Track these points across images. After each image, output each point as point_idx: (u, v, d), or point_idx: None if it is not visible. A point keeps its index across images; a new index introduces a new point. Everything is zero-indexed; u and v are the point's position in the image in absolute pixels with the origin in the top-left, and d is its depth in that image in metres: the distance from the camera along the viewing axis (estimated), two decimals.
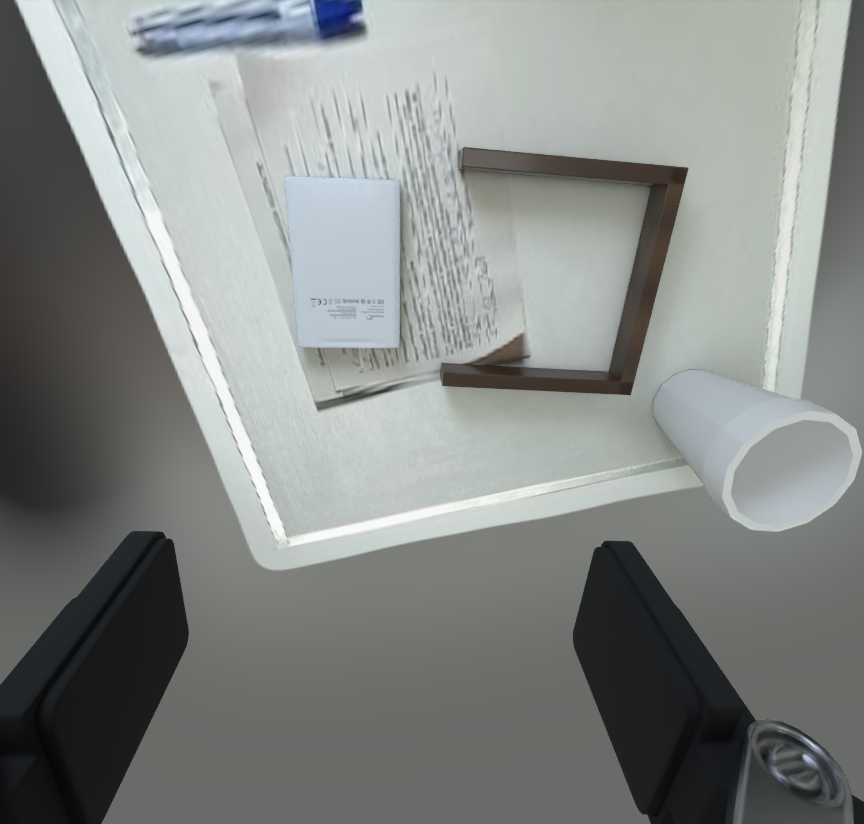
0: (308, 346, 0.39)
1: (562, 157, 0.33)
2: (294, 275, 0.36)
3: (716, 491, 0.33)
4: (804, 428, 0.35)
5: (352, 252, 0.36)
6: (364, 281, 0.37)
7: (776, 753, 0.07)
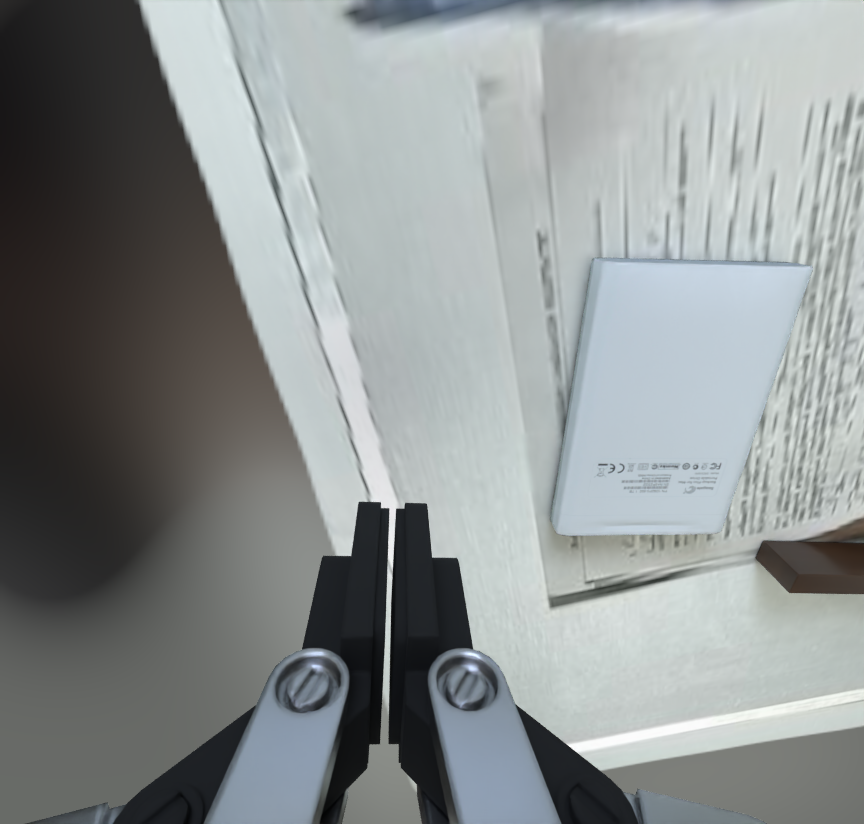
0: (575, 534, 0.23)
1: None
2: (579, 428, 0.20)
3: None
4: None
5: (692, 390, 0.20)
6: (698, 436, 0.21)
7: (452, 683, 0.07)
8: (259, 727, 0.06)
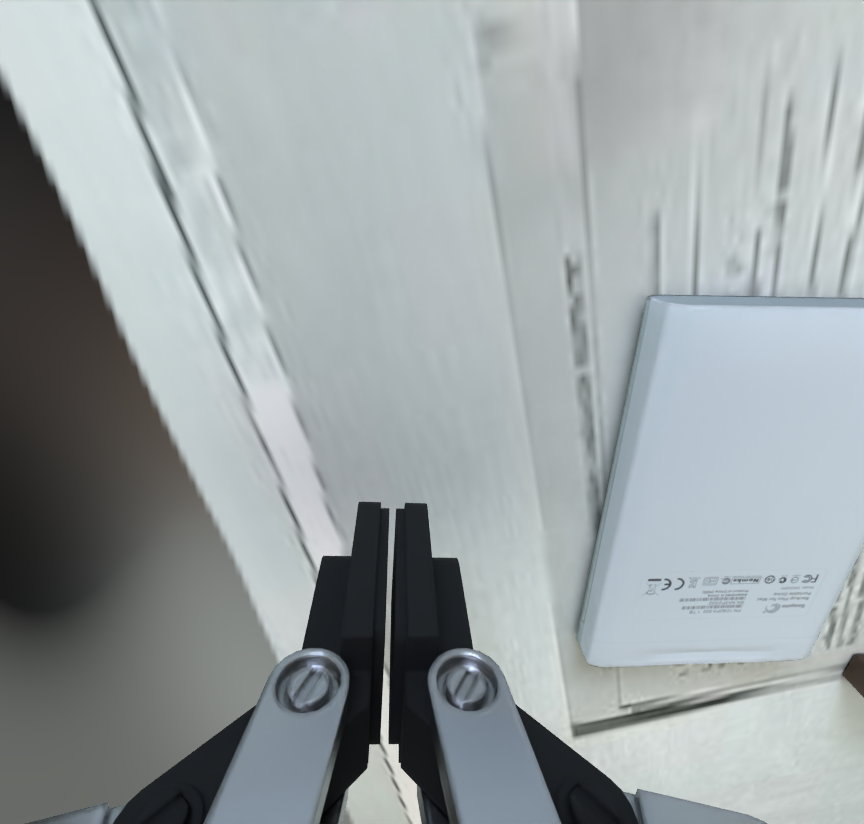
0: (612, 665, 0.16)
1: None
2: (623, 534, 0.14)
3: None
4: None
5: (787, 483, 0.14)
6: (790, 541, 0.15)
7: (452, 683, 0.07)
8: (259, 727, 0.06)
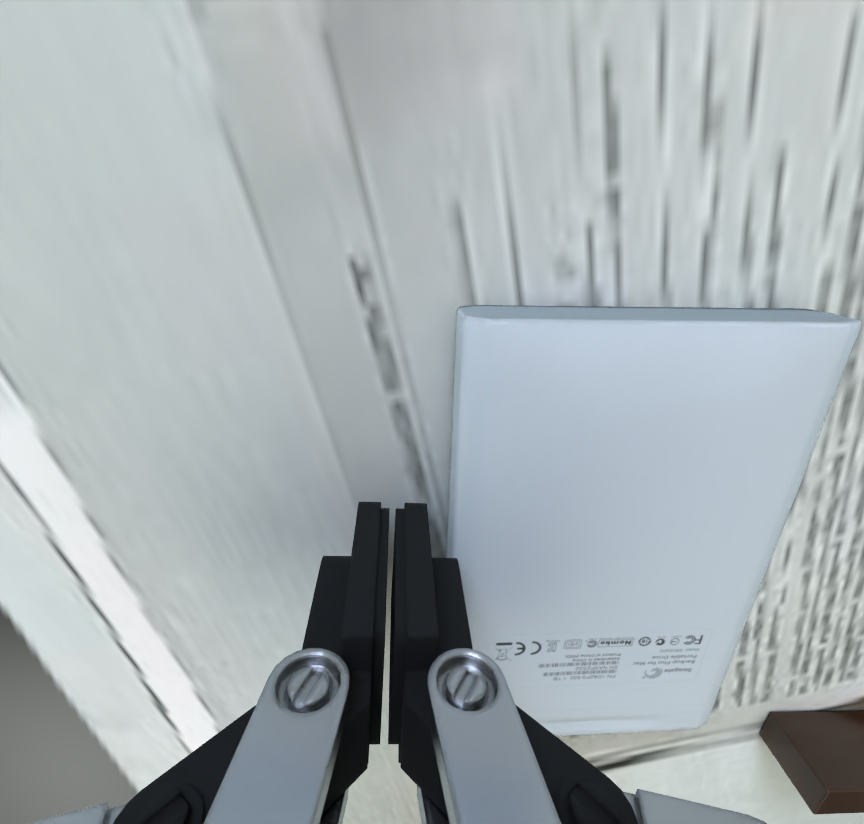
0: None
1: None
2: None
3: None
4: None
5: (648, 532, 0.11)
6: (662, 598, 0.12)
7: (452, 683, 0.07)
8: (259, 727, 0.06)
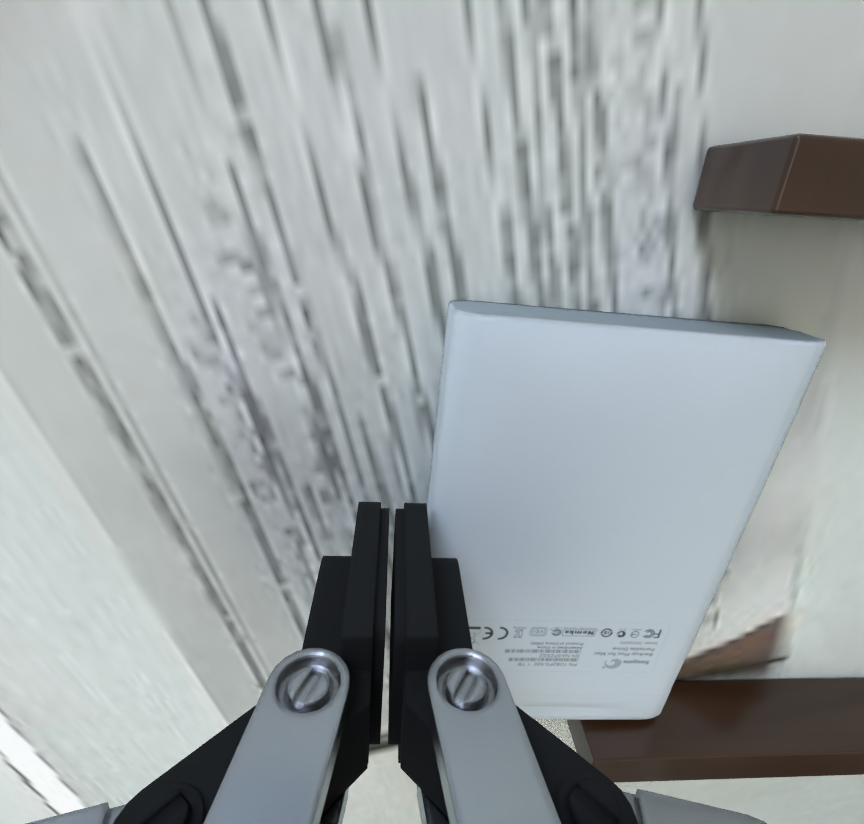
0: None
1: None
2: None
3: None
4: None
5: (616, 528, 0.12)
6: (626, 592, 0.13)
7: (452, 683, 0.07)
8: (259, 727, 0.06)
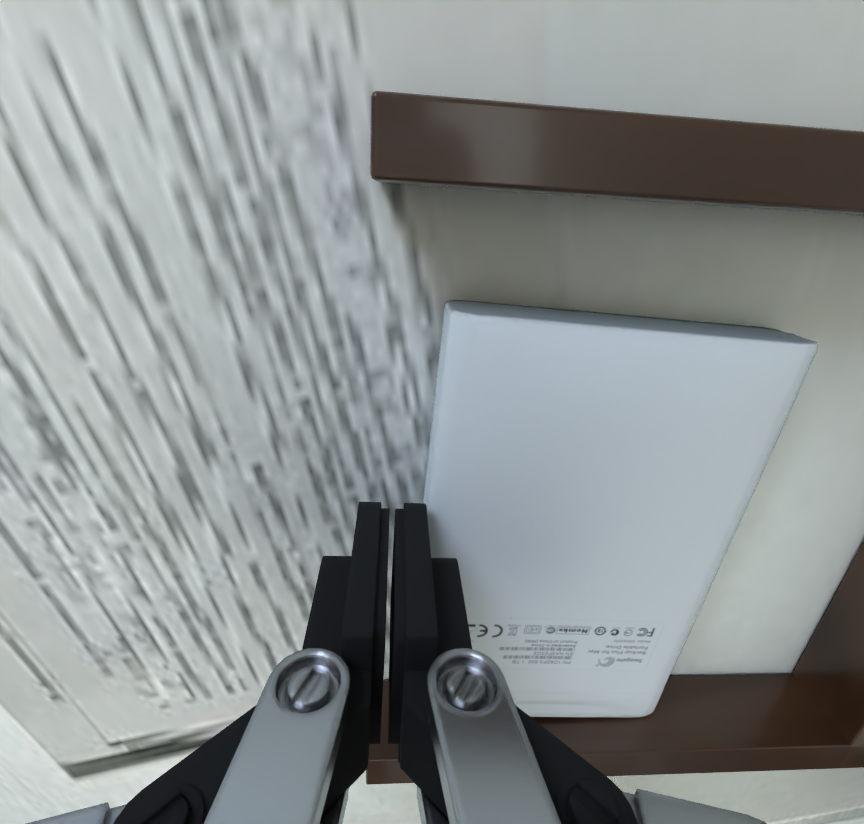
0: None
1: (809, 132, 0.08)
2: None
3: None
4: None
5: (610, 527, 0.12)
6: (619, 591, 0.13)
7: (452, 683, 0.07)
8: (259, 727, 0.06)
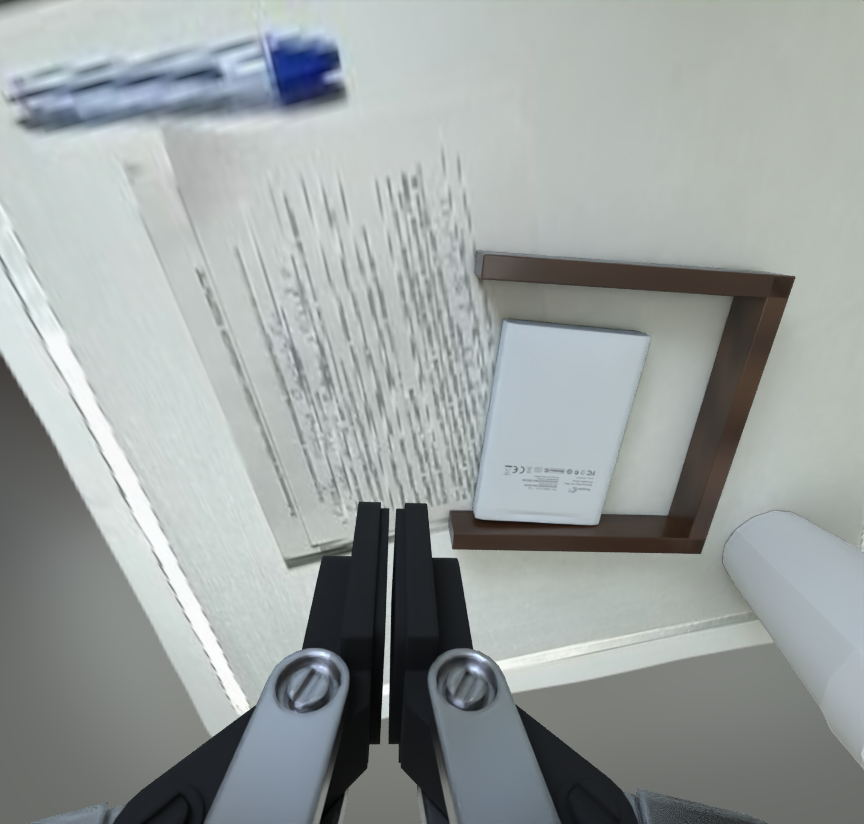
0: (488, 518, 0.30)
1: (622, 265, 0.24)
2: (491, 438, 0.28)
3: (849, 741, 0.23)
4: None
5: (571, 416, 0.28)
6: (577, 449, 0.29)
7: (452, 683, 0.07)
8: (259, 727, 0.06)
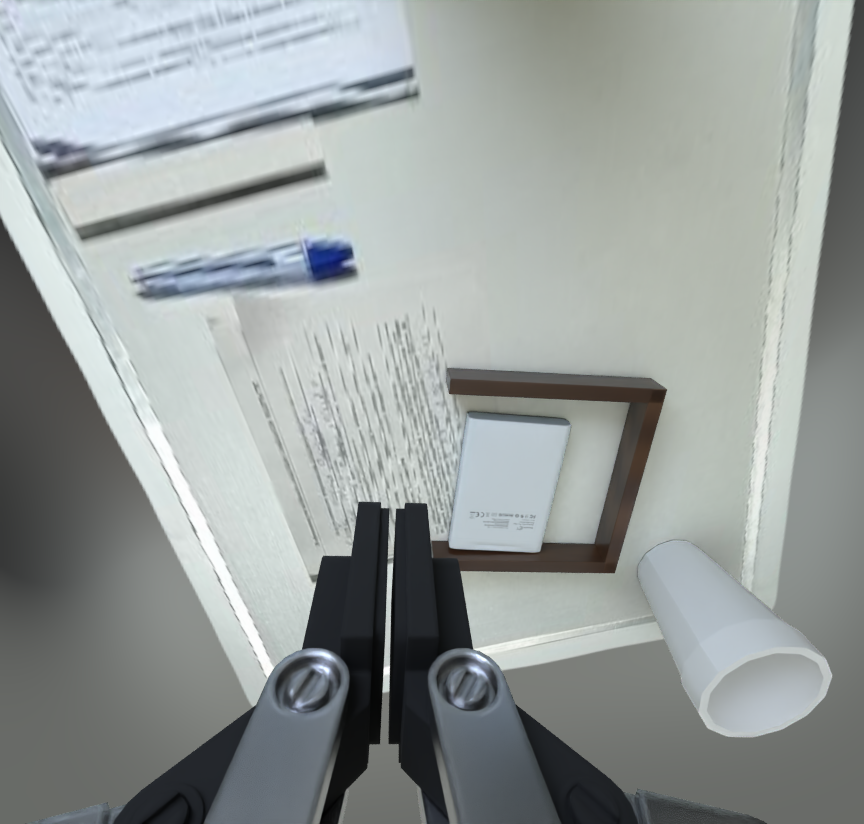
0: (459, 548, 0.42)
1: (545, 384, 0.35)
2: (459, 493, 0.39)
3: None
4: None
5: (516, 478, 0.39)
6: (522, 500, 0.40)
7: (452, 683, 0.07)
8: (259, 727, 0.06)
